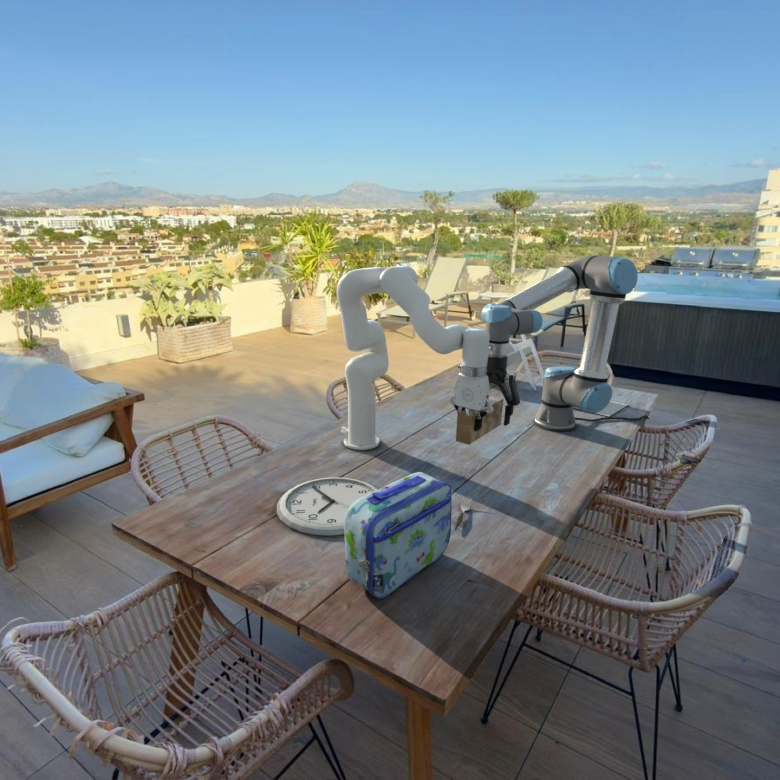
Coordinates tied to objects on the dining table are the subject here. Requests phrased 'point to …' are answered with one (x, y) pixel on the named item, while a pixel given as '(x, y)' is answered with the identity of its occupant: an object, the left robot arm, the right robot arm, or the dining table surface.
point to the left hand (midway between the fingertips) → (469, 427)
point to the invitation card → (611, 408)
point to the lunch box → (397, 532)
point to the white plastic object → (524, 356)
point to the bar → (467, 422)
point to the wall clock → (321, 504)
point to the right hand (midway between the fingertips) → (490, 420)
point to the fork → (464, 508)
